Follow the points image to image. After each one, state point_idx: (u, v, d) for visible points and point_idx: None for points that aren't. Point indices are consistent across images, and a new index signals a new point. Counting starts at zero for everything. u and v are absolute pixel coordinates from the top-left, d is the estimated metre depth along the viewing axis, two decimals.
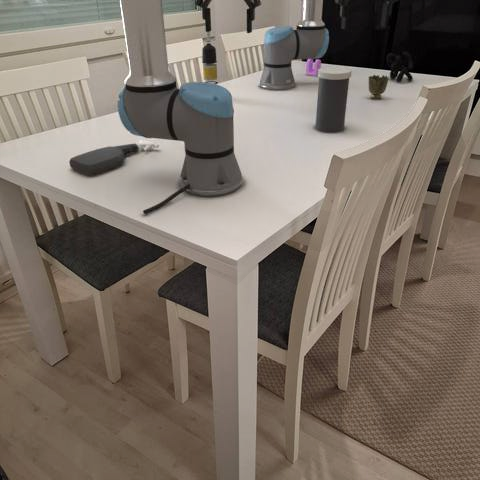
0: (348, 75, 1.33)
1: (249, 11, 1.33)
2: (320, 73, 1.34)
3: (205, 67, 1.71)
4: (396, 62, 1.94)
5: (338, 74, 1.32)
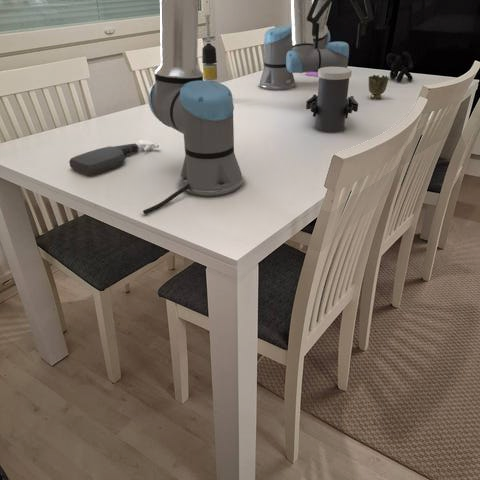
0: (348, 75, 1.33)
1: None
2: (320, 73, 1.34)
3: (205, 67, 1.71)
4: (396, 62, 1.94)
5: (338, 74, 1.32)
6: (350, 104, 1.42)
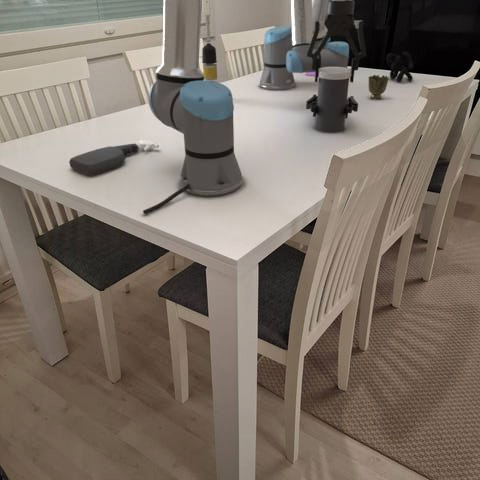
0: (348, 75, 1.33)
1: None
2: (320, 73, 1.34)
3: (205, 67, 1.71)
4: (396, 62, 1.94)
5: (338, 74, 1.32)
6: (350, 104, 1.42)
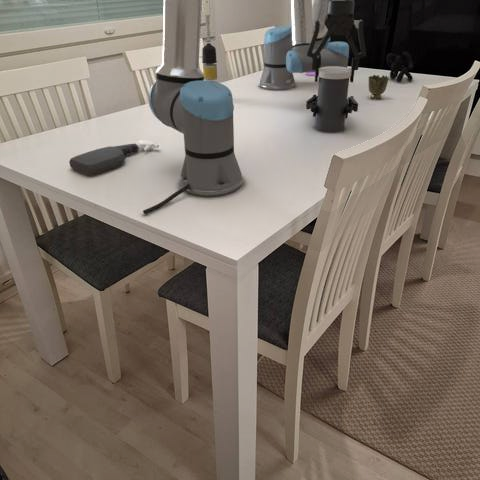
0: None
1: None
2: (345, 74, 1.32)
3: (205, 67, 1.71)
4: (396, 62, 1.94)
5: None
6: (350, 104, 1.42)
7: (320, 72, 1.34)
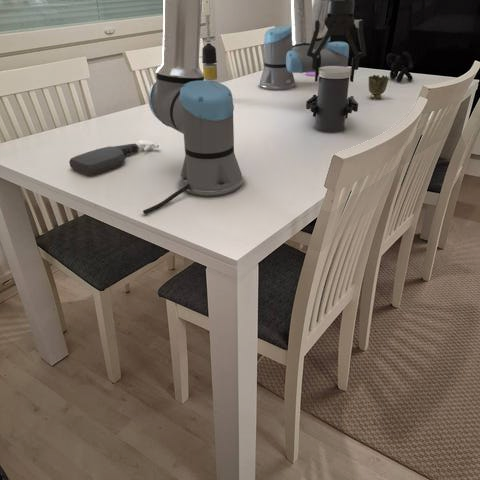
0: None
1: None
2: None
3: (205, 67, 1.71)
4: (396, 62, 1.94)
5: None
6: (350, 104, 1.42)
7: (345, 73, 1.32)
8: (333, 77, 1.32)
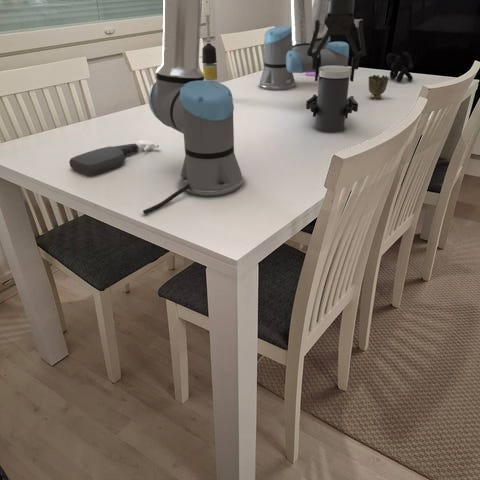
0: (331, 75, 1.32)
1: None
2: None
3: (205, 67, 1.71)
4: (396, 62, 1.94)
5: (321, 71, 1.34)
6: (350, 104, 1.42)
7: None
8: None
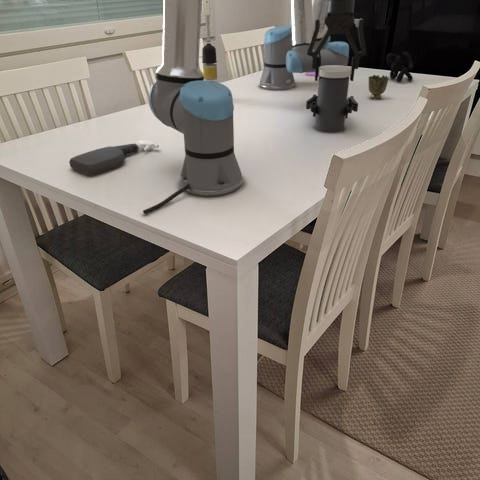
0: None
1: None
2: (327, 73, 1.32)
3: (205, 67, 1.71)
4: (396, 62, 1.94)
5: (347, 72, 1.32)
6: (350, 104, 1.42)
7: None
8: None
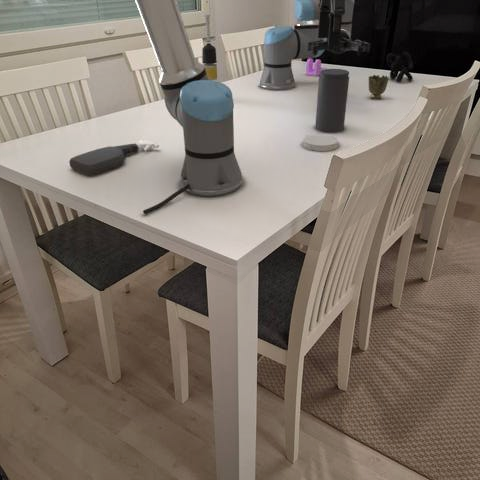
0: None
1: (332, 19, 1.08)
2: (337, 143, 1.30)
3: (205, 67, 1.71)
4: (396, 62, 1.94)
5: None
6: (362, 44, 1.44)
7: (313, 145, 1.28)
8: (304, 145, 1.31)
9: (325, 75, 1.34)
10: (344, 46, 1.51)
